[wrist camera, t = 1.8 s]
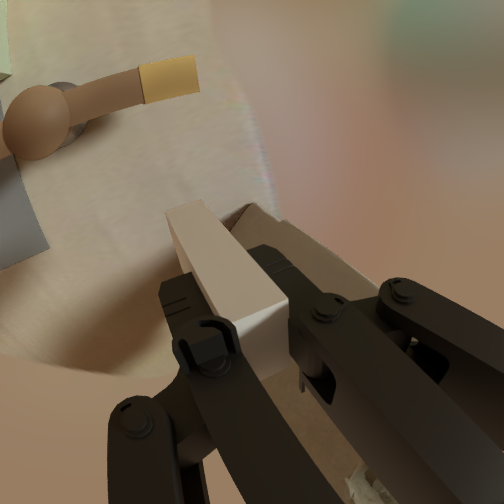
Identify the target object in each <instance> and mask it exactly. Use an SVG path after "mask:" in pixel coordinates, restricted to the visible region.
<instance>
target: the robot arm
mask: <svg viewBox="0 0 504 504" xmlns="http://www.w3.org/2000/svg"><path fill="white" fill-rule="evenodd" d="M165 214H166V218H167V221H168V225H169V228H170V232H171V235H172V239H173V242H174V246H175V249H176V252H177V256H178V259H179V262H180V265H181V268H182V270H183V272H184V274H183V275H180V276H177V277H175V278H172V279H169V280H167V281H164V282H161V286H160V290H159V294H158V295H159V299H160V302H161V305H162V308H163V311H164V314H165V317H166V320H167V323H168V326H169V329H170V332H171V334H172V337H173V340H172V351H173V354H174V356H175V358H176V359H177V361H178V363H179V365H180V368H179V371H178V373H177V376H176V377H175V379H174V380H173V382H172V383H171V384H170V385H168V387H166V388H165V389H164V390H162V391H161V392H160V393H158V394H157V395H156V396H154V397H153V398H150V397H148V396H133V397H130V398H126V399H125V400H123V401H122V402H120V403H119V404H117V406H116V407H115V408H114V410H113V411H112V413H111V415H110V419H109V423H108V444H107V445H108V446H107V478H108V503H109V504H210V501H209V495H208V490H207V485H206V479H205V474H204V468H203V461H202V459H203V458H205V457H206V456H207V455H208V454H210V453H211V452H212V451H213V450H214V449H216V448H217V449H218V451H219V454H220V456H221V457H222V460H223V462H224V464H225V466H226V467H227V469H228V471H229V473H230V475H231V477H232V479H233V481H234V483H235V485H236V486H237V488H238V490H239V492H240V493H241V495H242V497H243V499H244V501H245V502H246V504H345V503H344V502H343V501H342V499H341V498H340V497H339V495H338V494H337V493H336V491H335V490H334V489H333V487H332V486H331V485H330V483H329V482H328V481H327V479H326V478H325V476H324V475H323V474H322V472H321V471H320V470H319V468H318V467H317V465H316V464H315V463H314V461H313V460H312V458H311V457H310V456H309V454H308V453H307V451H306V450H305V448H304V447H303V446H302V444H301V443H300V441H299V440H298V438H297V437H296V435H295V434H294V432H293V431H292V429H291V428H290V427H289V425H288V424H287V422H286V421H285V419H284V418H283V416H282V414H281V413H280V411H279V410H278V408H277V407H276V405H275V404H274V402H273V401H272V399H271V398H270V396H269V394H268V393H267V391H266V390H265V388H264V387H263V385H262V383H261V382H260V381H261V380H264V379H266V378H268V377H270V376H272V375H274V374H276V373H278V372H280V371H282V370H284V369H286V368H288V367H290V366H291V357H292V358H293V359H294V361H295V362H296V363H297V365H298V366H299V389H300V391H301V393H303V392H305V386H306V387H307V388H308V390H309V391H310V392H311V394H312V395H313V396H314V398H315V399H316V400H317V402H318V403H319V404H320V406H321V407H322V408H323V410H324V411H325V412H326V414H327V415H328V416H329V417H330V419H331V420H332V421H333V423H334V424H335V425H336V427H337V428H338V429H339V430H340V432H341V433H342V434H343V436H344V437H345V438H346V439H347V441H348V442H349V443H350V445H351V446H352V447H353V448H354V450H355V451H356V452H357V453H358V455H359V456H360V457H361V458H362V460H363V461H364V462H365V463H366V465H367V466H368V467H369V468H370V470H371V471H372V472H373V473H374V475H375V476H376V477H377V478H378V479H379V481H380V482H381V483H382V484H383V486H384V487H385V488H386V489H387V490H388V492H389V493H390V494H391V495H392V496H393V498H394V499H395V500H396V501H397V502H398V504H504V453H503V452H502V451H504V329H502V328H500V327H498V326H497V325H495V324H493V323H491V322H490V321H488V320H486V319H484V318H483V317H481V316H479V315H477V314H475V313H473V312H472V311H470V310H468V309H466V308H464V307H462V306H461V305H459V304H457V303H455V302H453V301H451V300H449V299H447V298H446V297H444V296H442V295H440V294H438V293H436V292H434V291H432V290H430V289H428V288H426V287H425V286H423V285H420V284H419V283H417V282H415V281H412V280H410V279H407V278H393V279H388V280H387V281H385V282H383V284H382V285H381V287H380V288H379V293H378V296H374V297H369V298H365V299H360V300H354V301H349V300H347V299H346V298H344V297H343V296H341V295H338V294H334V293H323V292H322V291H321V290H320V289H319V288H318V287H317V286H316V285H315V284H314V283H312V282H311V281H310V280H309V279H308V278H307V277H306V276H305V275H304V274H303V273H302V272H301V271H300V270H299V269H298V268H297V267H296V266H295V267H294V265H293V264H292V263H291V262H290V261H289V260H288V259H286V257H285V256H284V255H283V254H282V253H281V252H280V251H279V250H278V249H276V248H273V247H271V246H268V245H266V244H262V245H259V246H257V247H254V248H251V249H248V250H245V249H244V248H243V247H242V246H241V245H240V244H239V242H238V241H237V240H236V239H235V238H234V237H233V236H232V235H231V233H230V232H229V231H228V230H227V229H226V228H225V227H224V225H223V224H222V223H221V222H220V221H219V220H218V219H217V218H216V216H215V215H214V214H213V213H212V212H211V211H210V210H209V209H208V207H207V206H206V205H205V204H204V203H203V202H202V201H201V200H198V201H195V202H192V203H188V204H185V205H182V206H179V207H176V208H173V209H170V210H167V211H165ZM412 337H413V338H415V339H417V340H418V341H411V340H412Z"/></svg>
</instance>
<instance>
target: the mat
mask: <svg viewBox="0 0 504 504" xmlns="http://www.w3.org/2000/svg"><path fill="white" fill-rule="evenodd" d="M2 120H4V116H3V112H2V107H1V102H0V122H1V121H2ZM48 249H49V246H48V244H47V241H46V239H45V237H44V235H43V233H42V230H41V228H40V226H39V223H38V221H37V219H36V216H35V214H34V212H33V209H32V207H31V204H30V201H29V199H28V196H27V194H26V191H25V188H24V185H23V182H22V180H21V177H20V174H19V171H18V168H17V164H16V161H15V158H14V155H13V153H12V154H10V155H9V156H7V157H5V158H3V159H1V160H0V271H1V270H3V269H5V268H7V267H9V266H12V265H14V264H16V263H18V262H20V261H22V260H25V259H27V258H29V257H31V256H34V255H36V254H38V253H41V252H43V251H45V250H48Z"/></svg>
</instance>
